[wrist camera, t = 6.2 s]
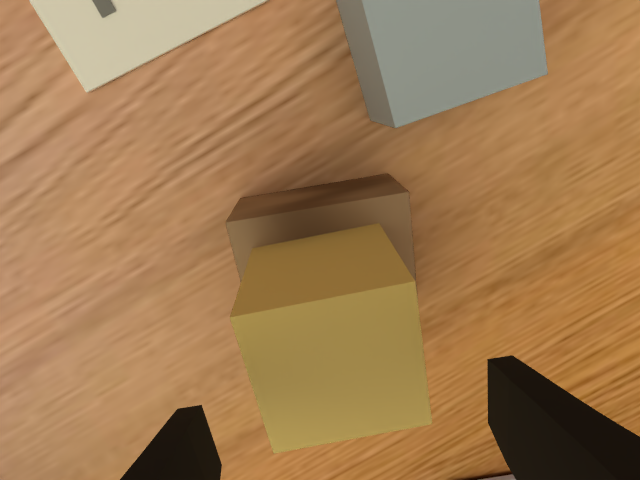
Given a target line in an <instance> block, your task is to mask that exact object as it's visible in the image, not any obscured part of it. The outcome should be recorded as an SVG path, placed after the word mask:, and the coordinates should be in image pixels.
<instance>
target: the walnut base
mask: <svg viewBox="0 0 640 480" xmlns="http://www.w3.org/2000/svg"><path fill="white" fill-rule="evenodd" d="M225 223H226V227H227V231H228V234H229V238H230V242H231V246H232V250H233V254H234V258H235V261H236V265H237V269H238V273H239V277H240V281H242V278H243V275H244V272H245V269H246V266H247V263H248V260H249V257H250V254H251V251H252V248H257V247H262V246H267V245H272V244H277V243H282V242H287V241H292V240H297V239H302V238H307V237H312V236H317V235H322V234H327V233H332V232H337V231H342V230H347V229H352V228H357V227H362V226H367V225H372V224H377V223H379V224H380V225H381V227H382V229H383V230H384V232H385V233H386V235H387V237H388V238H389V240H390V241H391V243H392V245H393V246H394V248H395V250H396V251H397V253H398V254H399V256H400V258H401V259H402V261H403V262H404V264H405V266H406V267H407V269H408V270H409V272H410V274H411V275H412V277H413V278H414V280H415V283H416V273H415V260H414V248H413V235H412V223H411V210H410V197H409V191H407V190H406V189H405V188H404V187H403V186H402V185H401V184H399V183H398V182H397V181H396V180H395V179H394V178H392V177H391V176H390V175H389V174H382V175H376V176H370V177H364V178H358V179H352V180H346V181H340V182H334V183H329V184H323V185H317V186H311V187H305V188H299V189H293V190H287V191H281V192H275V193H269V194H263V195H257V196H251V197H245V198H240V199H239V201H238V203H237V204H236V206H235V208H234V209H233V211H232V213H231V214H230V216H229V218H228V219H227V221H226V222H225ZM416 292H417V285H416ZM417 300H418V298H417Z"/></svg>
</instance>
